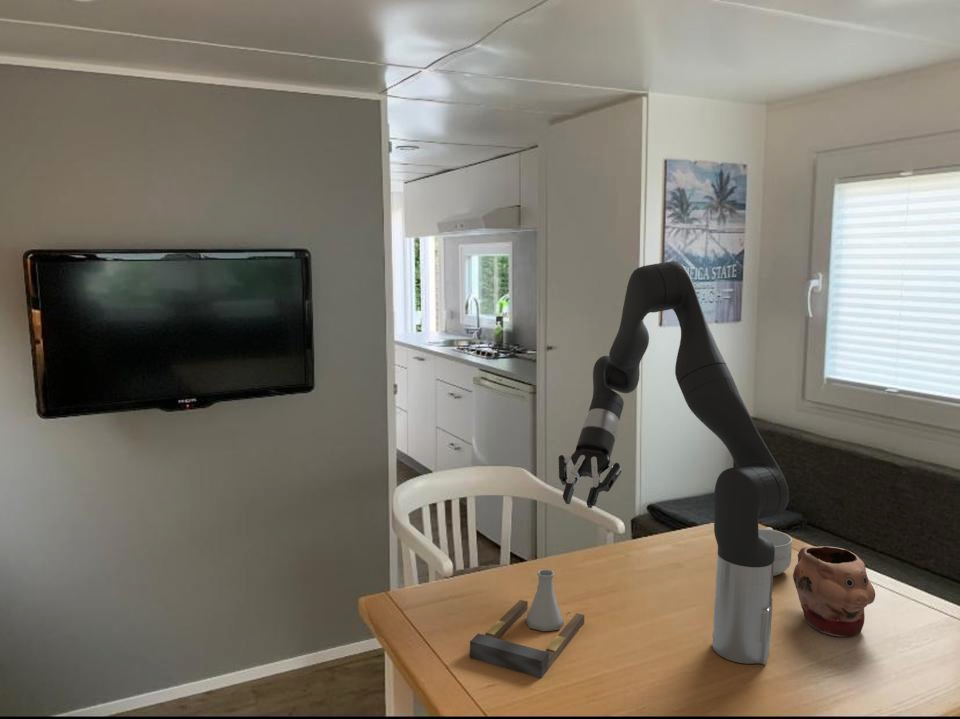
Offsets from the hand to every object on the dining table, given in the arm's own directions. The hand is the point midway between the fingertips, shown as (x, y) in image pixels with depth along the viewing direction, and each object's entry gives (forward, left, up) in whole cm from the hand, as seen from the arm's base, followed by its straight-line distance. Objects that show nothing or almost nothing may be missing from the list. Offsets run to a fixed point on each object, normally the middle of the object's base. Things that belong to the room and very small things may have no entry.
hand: (578, 503), depth 151 cm
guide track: (0, +24, -18) cm, 30 cm away
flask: (0, +17, -18) cm, 25 cm away
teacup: (-34, -30, -18) cm, 49 cm away
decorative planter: (-47, -9, -18) cm, 51 cm away
